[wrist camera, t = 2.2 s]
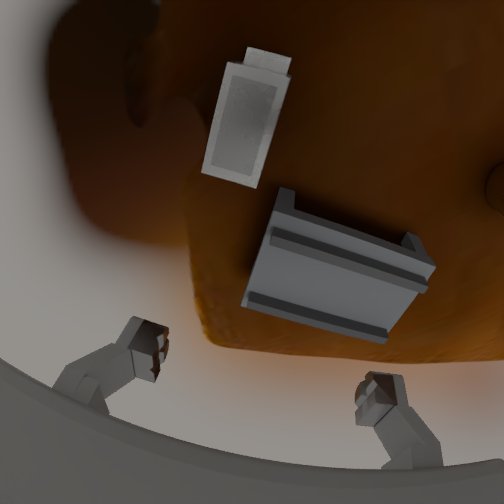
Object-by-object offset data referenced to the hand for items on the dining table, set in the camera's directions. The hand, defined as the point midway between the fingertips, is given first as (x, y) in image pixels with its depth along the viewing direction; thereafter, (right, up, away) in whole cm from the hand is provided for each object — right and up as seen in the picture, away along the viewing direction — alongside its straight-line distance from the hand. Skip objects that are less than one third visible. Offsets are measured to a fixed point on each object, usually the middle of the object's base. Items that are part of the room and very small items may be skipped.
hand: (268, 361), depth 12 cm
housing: (-1, +17, +17) cm, 24 cm away
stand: (+9, +4, +24) cm, 26 cm away
